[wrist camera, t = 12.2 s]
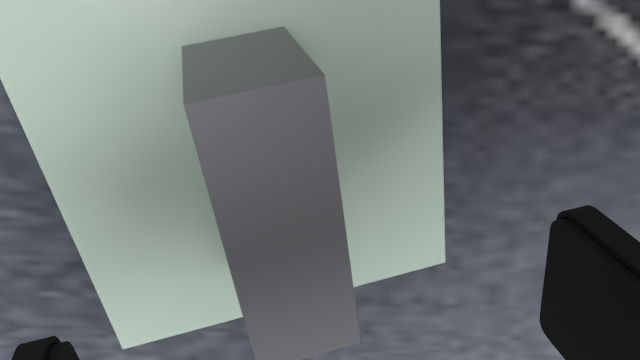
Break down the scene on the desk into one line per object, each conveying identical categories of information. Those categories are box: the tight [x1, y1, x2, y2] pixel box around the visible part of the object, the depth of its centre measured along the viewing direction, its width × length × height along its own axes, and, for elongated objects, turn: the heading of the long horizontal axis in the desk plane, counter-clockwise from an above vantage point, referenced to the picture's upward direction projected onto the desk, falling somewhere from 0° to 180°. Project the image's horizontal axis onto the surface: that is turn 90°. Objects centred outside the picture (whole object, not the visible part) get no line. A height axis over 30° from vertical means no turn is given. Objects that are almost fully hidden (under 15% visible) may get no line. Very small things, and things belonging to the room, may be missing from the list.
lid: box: [0, 0, 445, 360], centre depth 16 cm, size 13×13×6 cm
